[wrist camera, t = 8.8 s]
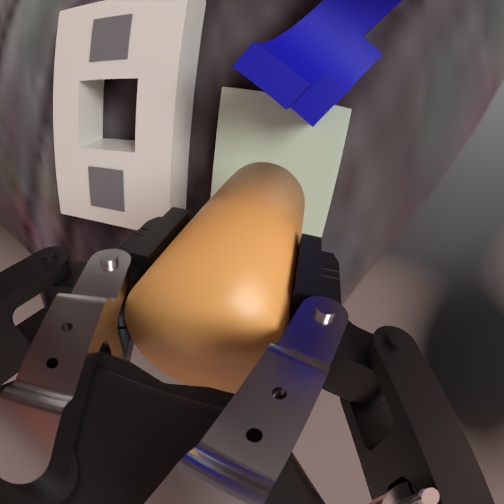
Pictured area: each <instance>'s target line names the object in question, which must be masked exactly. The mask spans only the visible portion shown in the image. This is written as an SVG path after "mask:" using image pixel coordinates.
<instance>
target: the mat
mask: <svg viewBox="0 0 504 504" xmlns="http://www.w3.org/2000/svg"><path fill="white" fill-rule="evenodd" d="M351 111H352V109H350V108H346V107H341V106H337V105H334V106H333V107H332V108H331V109H330V110H329V111H328V112H327V113H326V114H325V115H324V116H323V117H322V118H321V119H320V120H319V121H318V122H317V123H316V124H315V125H314V126H313V127H312V126H311V125H310V124H309V123H307V122H306V121H305V120H304V119H303V118H302V117H301V116H300V115H298V114H297V113H296V112H295V111H294V110H293V109H291V108H289V109H285V108H284V107H282V106H281V105H280V104H279V103H278V102H276V101H275V100H274V99H273V98H272V97H270V96H269V95H268V94H267V93H265V92H263V91H256V90H249V89H241V88H232V87H222V90H221V99H220V107H219V116H218V125H217V134H216V144H215V154H214V164H213V175H212V186H211V197H212V196H213V195H214V194H215V193H216V192H217V191H218V190H219V189H220V188H221V187H222V186H223V185H224V183H225V182H226V181H227V180H228V179H229V178H230V177H231V176H232V175H233V174H234V173H235V172H236V171H237V170H239V169H240V168H242V167H243V166H245V165H248V164H251V163H255V162H268V163H273V164H277V165H279V166H281V167H283V168H285V169H287V170H288V171H289V172H290V173H292V174H293V175H294V176H295V178H296V179H297V180H298V182H299V183H300V185H301V187H302V190H303V193H304V197H305V208H304V217H303V225H302V233H304V234H308V235H313V236H317V237H322V234H323V230H324V226H325V222H326V218H327V215H328V211H329V207H330V203H331V199H332V195H333V191H334V187H335V183H336V178H337V174H338V170H339V166H340V161H341V157H342V153H343V148H344V144H345V139H346V134H347V130H348V125H349V120H350V115H351ZM210 199H211V198H210ZM302 233H301V235H302Z"/></svg>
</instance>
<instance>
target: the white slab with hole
mask: <svg viewBox="0 0 504 504" xmlns="http://www.w3.org/2000/svg"><path fill="white" fill-rule="evenodd" d="M205 7H206V1H205V0H106V1H101V2H96V3H91V4H87V5H83V6H79V7H75V8H71V9H67V10H63V11H60V15H59V22H58V30H57V39H56V50H55V63H54V84H53V129H54V150H55V164H56V176H57V186H58V194H59V202H60V210H61V214H66V215H70V216H75V217H79V218H84V219H88V220H93V221H97V222H102V223H106V224H111V225H115V226H120V227H124V228H129V229H134V230H138V229H140V227H142V226H143V225H144V224H145V223H146V222H147V221H149V220H151V219H153V218H156V217H163V216H164V215H165V214H166V213H167V212H168V211H169V210H170V209H171V208H172V207H177V208H182V209H186V196H187V177H188V161H189V147H190V134H191V122H192V111H193V101H194V91H195V82H196V73H197V64H198V56H199V48H200V41H201V33H202V26H203V20H204V13H205ZM129 78H138V88H137V104H136V126H135V141H134V140H122V139H109V138H103V95H104V79H129Z"/></svg>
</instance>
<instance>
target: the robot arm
mask: <svg viewBox="0 0 504 504" xmlns="http://www.w3.org/2000/svg"><path fill="white" fill-rule="evenodd" d="M192 218H193V212H192V210H188V209H182V208H177V207H172V208H171V209H170V210H169V211H168V212H167V213H166V214H165V215H164V216H163V217H156V218H153V219H151V220H149V221H147V222H146V223H145V224H144V225H143V226H142V227H140V229H138V230H137V231H136V232H135V234H133V235H132V236H131V237H130V238H129V239H128V240H127V241H126V242H125V243H124V244H123V245H122V246H121V247H120V248H119V249H105V250H101V251H99V252H97V253H95V254H94V255H93V256H91V258H90V259H89V261H88V262H70V259H69V254H68V251H67V250H66V249H65V248H62V247H56V246H55V247H48V248H45V249H42V250H40V251H38V252H36V253H34V254H32V255H31V256H29V257H27V258H25V259H23V260H22V261H20V262H18V263H16V264H14V265H13V266H11V267H9V268H7V269H5V270H4V271H2V272H0V504H325V502H324V501H323V499H322V498H321V496H320V495H319V493H318V492H317V491H316V489H315V487H314V486H313V484H312V483H311V481H310V479H309V478H308V476H307V475H306V473H305V472H304V470H303V468H302V467H301V465H300V464H299V462H298V460H297V459H296V457H295V456H294V454H293V452H292V450H293V448H294V446H295V444H296V442H297V440H298V438H299V436H300V434H301V432H302V430H303V428H304V426H305V424H306V422H307V419H308V418H309V415H310V413H311V411H312V409H313V407H314V404H315V402H316V400H317V398H318V396H319V394H320V391H321V389H324V390H326V391H328V392H331V393H333V394H335V395H337V396H339V397H340V401H341V404H342V407H343V410H344V413H345V416H346V419H347V422H348V425H349V428H350V431H351V434H352V437H353V440H354V444H355V447H356V450H357V453H358V456H359V459H360V462H361V465H362V469H363V472H364V475H365V478H366V482H367V485H368V488H369V492H370V495H371V498H372V501H371V502H370V503H369V504H494V501H493V498H492V496H491V493H490V491H489V488H488V486H487V483H486V481H485V479H484V476H483V474H482V472H481V469H480V467H479V465H478V462H477V460H476V458H475V455H474V453H473V451H472V449H471V447H470V445H469V443H468V440H467V438H466V436H465V434H464V432H463V430H462V428H461V426H460V424H459V422H458V420H457V418H456V416H455V414H454V412H453V410H452V408H451V406H450V404H449V402H448V400H447V398H446V396H445V394H444V392H443V391H442V389H441V387H440V385H439V383H438V381H437V379H436V378H435V376H434V374H433V372H432V371H431V369H430V367H429V365H428V363H427V362H426V360H425V358H424V357H423V354H422V353H421V351H420V349H419V348H418V346H417V344H416V342H415V341H414V339H413V338H412V337H411V336H410V335H409V334H408V333H407V332H405V331H403V330H402V329H399V328H396V327H393V326H383V327H380V328H378V329H377V330H376V331H375V332H374V334H372V333H369V332H367V331H365V330H363V329H360V328H358V327H357V326H355V325H353V324H352V323H351V322H350V321H349V320H348V313H347V311H346V309H345V308H344V307H343V306H342V305H341V291H340V280H339V279H340V274H339V262H338V260H337V259H336V258H335V256H334V255H333V253H328V252H324V251H321V242H322V239H321V237H317V236H313V235H308V234H304V233H302V235H301V239H300V243H299V249H298V256H297V263H296V270H295V277H294V284H293V291H292V297H291V304H290V312H289V323H288V326H287V328H286V329H285V331H284V332H283V334H282V336H281V337H280V339H279V340H278V342H277V343H273V342H272V343H271V344H270V345H269V346H268V347H267V349H266V350H265V352H264V353H263V355H262V356H261V357H260V359H259V360H258V362H257V363H256V365H255V366H254V368H253V369H252V371H251V372H250V373H249V375H248V376H247V378H246V379H245V381H244V382H243V383H242V385H241V386H240V388H239V389H238V391H237V392H236V393H235V394H234V393H230V392H226V391H222V390H218V389H214V388H211V387H202V386H188V385H175V384H166V383H163V382H161V381H160V380H158V379H156V378H155V377H153V376H151V375H150V374H148V373H147V372H145V371H143V370H142V369H141V368H139V367H137V366H136V365H134V364H133V363H131V362H130V359H131V354H132V349H133V346H134V341H133V340H132V338H131V336H130V334H129V331H128V328H127V325H126V321H125V303H126V300H127V297H128V295H129V293H130V291H131V290H132V288H133V287H134V286H135V285H136V284H137V282H138V281H139V280H140V279H141V278H142V276H143V275H144V274H145V273H146V272H147V270H148V269H149V268H150V267H151V266H152V264H153V263H154V262H155V261H156V260H157V258H158V257H159V256H160V255H161V254H162V253H163V251H164V250H165V249H166V248H167V247H168V246H169V245H170V243H171V242H172V241H173V240H174V239H175V238H176V236H177V235H178V234H179V233H180V232H181V231H182V230H183V228H184V227H185V226H186V225H187V224H188V223H189V222H190V221H191V219H192ZM39 293H40V294H41V298H42V301H43V304H44V308H43V309H41V310H40V311H38V312H37V313H35V314H33V315H32V316H30V317H29V318H27V319H26V320H24V321H23V322H21V323H20V324H19V325H17V326H15V325H14V323H13V319H12V316H13V312H14V311H15V309H16V308H18V307H19V306H20V305H22V304H23V303H25V302H27V301H28V300H30V299H32V298H33V297H35V296H36V295H38V294H39ZM18 372H19V373H18ZM16 373H18V375H17V377H16V380H14V381H12V382H9V383H6V384H4V385H2V384H3V383H5V382H6V381H7V380H8V379H10V378H11V377H12V376H14V375H15V374H16ZM1 385H2V386H1Z"/></svg>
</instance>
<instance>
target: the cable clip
mask: <svg viewBox="0 0 504 504" xmlns="http://www.w3.org/2000/svg"><path fill="white" fill-rule="evenodd" d="M401 1H402V0H323V1H322V2H321V3H320V4H319V5H318V6H316V7H315V8H314V9H313V10H312V11H311V12H310V13H309V14H307V15H306V16H305V17H304V18H303V19H302V20H300V21H299V22H298V23H297V24H295V25H294V26H293V27H291V28H290V29H289V30H287V31H286V32H284V33H283V34H281V35H280V36H278V37H276V38H274V39H273V40H270V41H268V42H265V43H256V42H255V41H254V42H253V43H252V45H251V46H250V47H249V48H248V49H247V50H246V51H245V52H244V53H243V55H242V56H241V57H240V58H239V59H238V60H237V61H236V63H235V64H234V65H233V66H232V67H233V68H235V69H236V70H237V71H239V72H240V73H241V74H243V75H244V76H245V77H246V78H248V79H249V80H250V81H252V82H253V83H254V84H255V85H257V86H258V87H259V88H260V89H262V90H263V91H264V92H265V93H267V94H268V95H269V96H270V97H272V98H273V99H274V100H275V101H276V102H278V103H279V104H280V105H281V106H282V107H284V108H285V109H289V108H291V109H293V110H294V111H295V112H296V113H297V114H298V115H300V116H301V117H302V118H303V119H304V120H305V121H306V122H307V123H309V124H310V125H311V126H312V127H313V126H314V125H315V124H316V123H317V122H318V121H319V120H320V119H321V118H322V117H323V116H324V115H325V114H326V113H327V112H328V111H329V110H330V109H331V108H332V107H333V106H334V105H335V104H336V103H337V102H338V101H339V100H340V99H341V98H342V97H343V96H344V95H345V94H346V93H347V92H348V90H349V89H350V88H351V87H352V86H353V85H354V84H355V82H356V81H357V80H358V79H359V78H360V77H361V76H362V75H363V74H364V73H365V72H366V71H367V70H368V69H369V68H370V67H371V66H372V65H373V64H374V63H375V62H376V61H377V60H378V59H379V58H380V57H381V56H382V55H383V54H382V53H381V52H380V51H379V50H378V49H376V48H375V47H374V46H373V45H372V44H371V43H370V42H369V41H368V40H367V39H365V38H364V37H363V36H364V35H365V34H367V33H368V32H369V31H370V30H371V29H372V28H373V27H374V26H375V25H376V24H377V23H378V22H379V21H380V20H381V19H383V18H384V17H385V16H386V15H387V14H388V13H389V12H390V11H391V10H392V9H393V8H395V7H396V6H397V5H398V4H399V3H400V2H401Z"/></svg>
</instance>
